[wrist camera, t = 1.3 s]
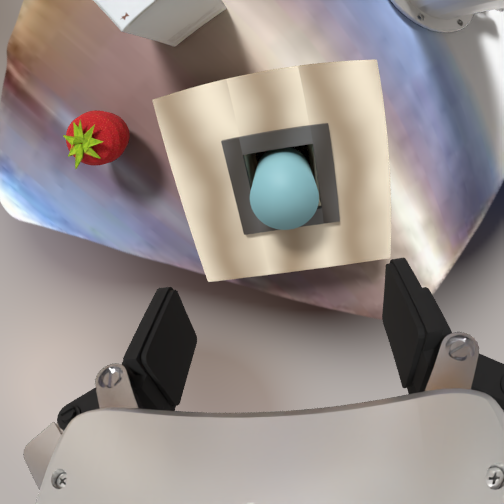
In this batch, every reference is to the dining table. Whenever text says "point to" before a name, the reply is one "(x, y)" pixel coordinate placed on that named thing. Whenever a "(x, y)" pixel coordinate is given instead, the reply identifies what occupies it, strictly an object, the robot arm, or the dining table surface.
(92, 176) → the dining table surface
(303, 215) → the teal peg
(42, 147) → the dining table surface
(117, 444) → the robot arm
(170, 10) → the supplement box
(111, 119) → the strawberry
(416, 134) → the dining table surface
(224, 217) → the collar block
